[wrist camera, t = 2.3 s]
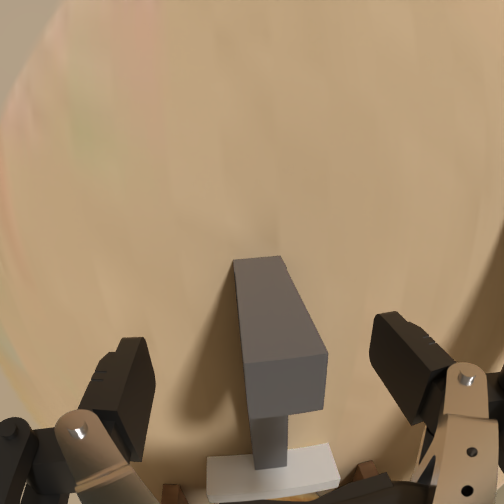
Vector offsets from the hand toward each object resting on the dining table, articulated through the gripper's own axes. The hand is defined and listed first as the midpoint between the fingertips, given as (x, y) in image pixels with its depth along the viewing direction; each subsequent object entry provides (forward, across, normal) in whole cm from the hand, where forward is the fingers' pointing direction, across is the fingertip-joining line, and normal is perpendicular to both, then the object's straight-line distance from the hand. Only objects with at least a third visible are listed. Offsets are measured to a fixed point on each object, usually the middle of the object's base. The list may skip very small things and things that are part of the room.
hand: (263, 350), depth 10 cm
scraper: (+7, -1, +8) cm, 11 cm away
